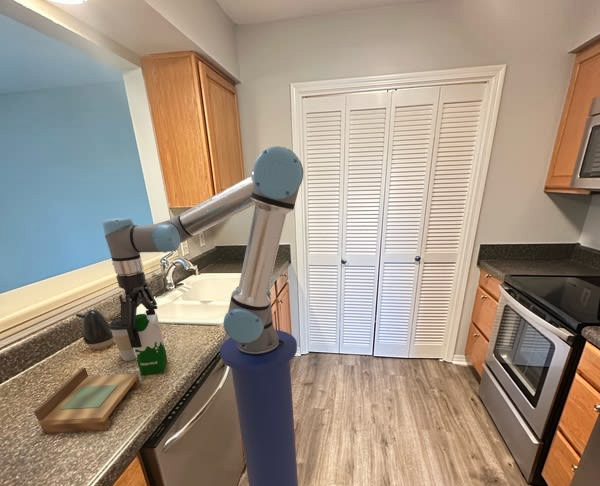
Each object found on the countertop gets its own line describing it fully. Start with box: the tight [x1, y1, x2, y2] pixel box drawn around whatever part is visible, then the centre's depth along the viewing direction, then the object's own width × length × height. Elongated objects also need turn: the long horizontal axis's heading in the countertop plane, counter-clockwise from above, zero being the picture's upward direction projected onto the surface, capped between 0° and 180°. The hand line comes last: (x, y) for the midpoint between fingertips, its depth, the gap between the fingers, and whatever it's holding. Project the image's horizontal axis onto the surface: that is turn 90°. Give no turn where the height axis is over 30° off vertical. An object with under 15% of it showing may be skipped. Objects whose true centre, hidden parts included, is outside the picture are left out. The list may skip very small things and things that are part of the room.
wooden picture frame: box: [33, 367, 141, 434], centre depth 90 cm, size 16×20×7 cm
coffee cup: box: [109, 315, 136, 361], centre depth 115 cm, size 9×9×15 cm
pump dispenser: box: [75, 309, 115, 350], centre depth 123 cm, size 10×10×15 cm
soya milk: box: [133, 313, 168, 377], centre depth 105 cm, size 9×9×20 cm
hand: (146, 337), depth 104 cm, fingers open, 13 cm apart
